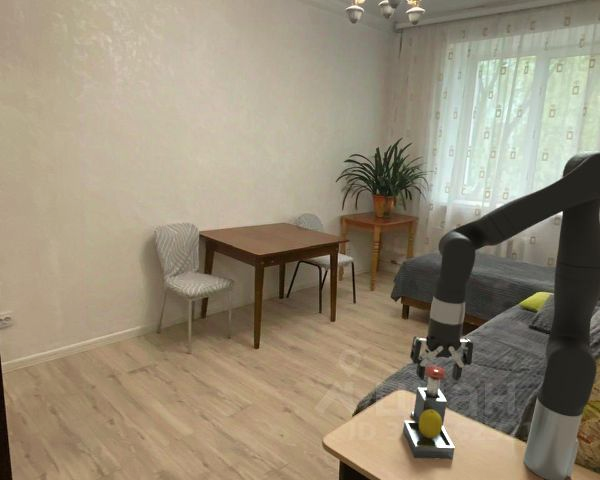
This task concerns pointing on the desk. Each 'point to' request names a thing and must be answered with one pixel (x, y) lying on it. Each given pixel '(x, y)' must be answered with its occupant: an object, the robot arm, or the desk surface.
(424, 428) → the lemon
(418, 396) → the press column
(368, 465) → the desk surface
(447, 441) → the square metal tray
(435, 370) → the plunger
